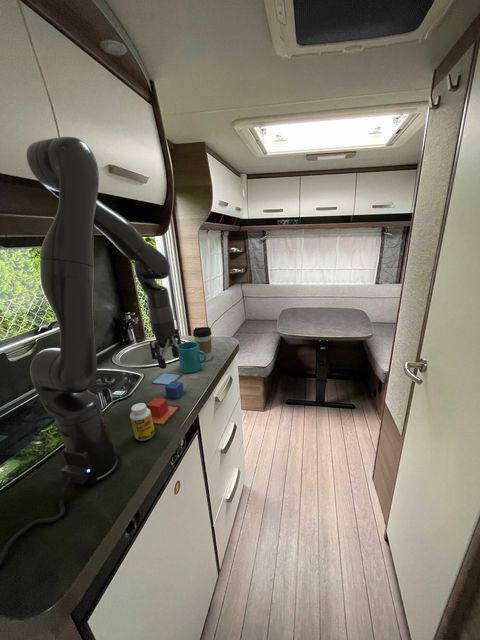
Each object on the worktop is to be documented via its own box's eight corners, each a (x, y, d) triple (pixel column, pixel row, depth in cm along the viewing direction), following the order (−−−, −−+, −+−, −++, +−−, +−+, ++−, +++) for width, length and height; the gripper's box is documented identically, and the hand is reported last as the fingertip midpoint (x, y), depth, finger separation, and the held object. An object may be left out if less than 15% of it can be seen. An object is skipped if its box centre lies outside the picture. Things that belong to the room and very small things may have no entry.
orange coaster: (163, 424, 87) (163, 423, 87) (138, 420, 90) (138, 419, 89) (178, 408, 95) (177, 407, 95) (155, 405, 97) (155, 404, 97)
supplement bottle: (137, 444, 80) (129, 414, 75) (133, 433, 84) (126, 405, 80) (157, 436, 82) (150, 407, 78) (152, 426, 87) (146, 399, 83)
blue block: (177, 398, 101) (175, 388, 99) (166, 397, 102) (164, 387, 100) (183, 392, 105) (182, 382, 103) (173, 391, 106) (171, 381, 104)
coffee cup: (212, 362, 128) (209, 331, 123) (194, 362, 129) (190, 332, 123) (215, 354, 136) (212, 325, 130) (198, 355, 136) (194, 326, 130)
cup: (205, 373, 118) (202, 349, 114) (177, 373, 119) (173, 349, 115) (210, 364, 126) (207, 341, 122) (184, 364, 127) (181, 341, 123)
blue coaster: (170, 385, 110) (169, 384, 110) (152, 383, 112) (152, 382, 112) (180, 375, 117) (180, 374, 117) (163, 374, 119) (163, 373, 119)
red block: (161, 418, 90) (158, 406, 88) (149, 416, 91) (146, 405, 89) (168, 410, 94) (166, 399, 92) (157, 408, 95) (155, 397, 93)
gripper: (163, 312, 99) (171, 353, 105) (138, 325, 86) (148, 371, 93) (182, 313, 97) (189, 355, 103) (159, 326, 84) (168, 373, 91)
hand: (169, 362), depth 98 cm, fingers open, 8 cm apart
